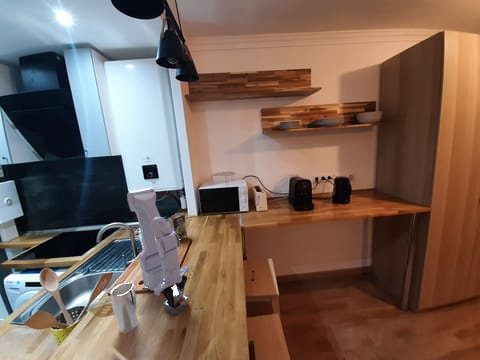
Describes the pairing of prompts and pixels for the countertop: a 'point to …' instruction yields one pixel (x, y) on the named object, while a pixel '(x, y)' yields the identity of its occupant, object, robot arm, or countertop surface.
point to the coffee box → (178, 225)
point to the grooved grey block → (177, 295)
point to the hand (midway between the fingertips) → (175, 299)
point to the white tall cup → (124, 306)
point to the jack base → (177, 309)
